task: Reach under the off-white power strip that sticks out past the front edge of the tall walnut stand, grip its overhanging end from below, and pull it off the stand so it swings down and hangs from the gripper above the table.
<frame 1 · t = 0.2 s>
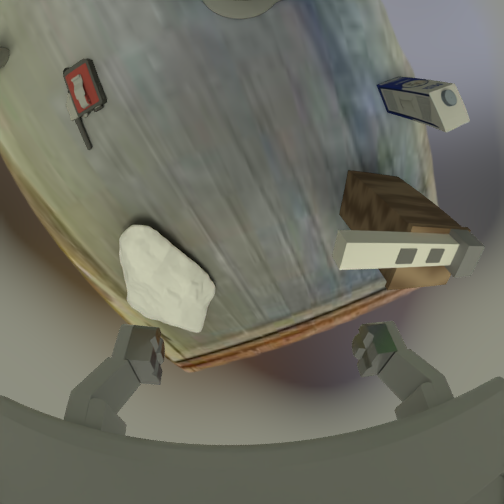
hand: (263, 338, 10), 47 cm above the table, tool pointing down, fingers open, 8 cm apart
walkie-talkie: (88, 101, 42), on the table
stand: (369, 195, 60), on the table
crumpled cloth: (164, 274, 68), on the table
power strip: (411, 244, 36), point 26 cm above the table, touching stand
house plant: (6, 53, 28), on the table
milk carton: (393, 94, 46), on the table
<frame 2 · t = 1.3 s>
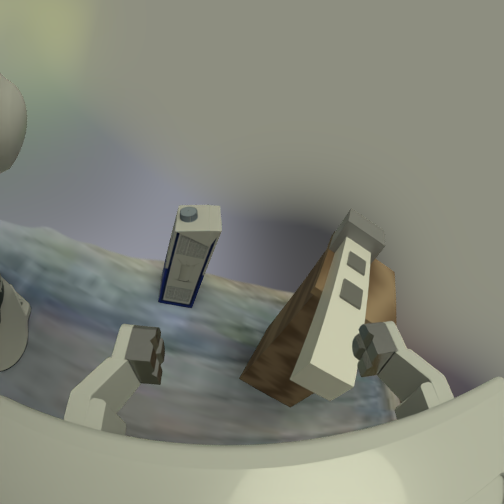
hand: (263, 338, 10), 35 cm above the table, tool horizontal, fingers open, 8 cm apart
stand: (278, 365, 50), on the table
power strip: (338, 295, 29), point 26 cm above the table, touching stand
milk carton: (175, 292, 54), on the table
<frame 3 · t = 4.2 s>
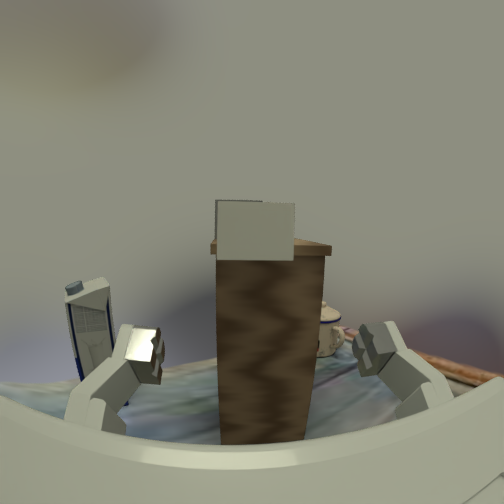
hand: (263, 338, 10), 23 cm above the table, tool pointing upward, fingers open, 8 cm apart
stand: (257, 413, 36), on the table
power strip: (241, 243, 27), point 26 cm above the table, touching stand
milk carton: (105, 398, 36), on the table
teacup with lid: (321, 352, 58), on the table
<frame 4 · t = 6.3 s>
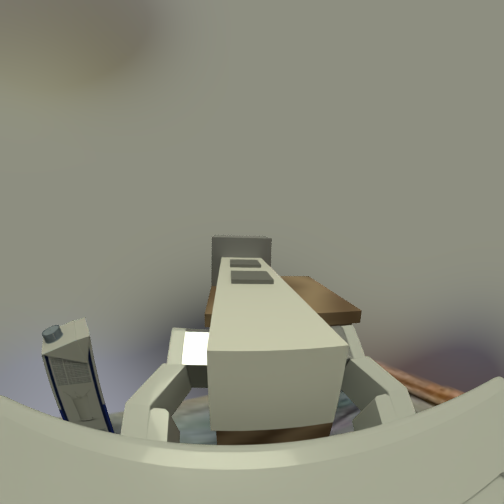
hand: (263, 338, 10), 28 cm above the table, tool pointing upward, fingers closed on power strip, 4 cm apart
stand: (260, 464, 29), on the table
power strip: (246, 310, 20), point 26 cm above the table, touching gripper, stand
milk carton: (96, 442, 29), on the table
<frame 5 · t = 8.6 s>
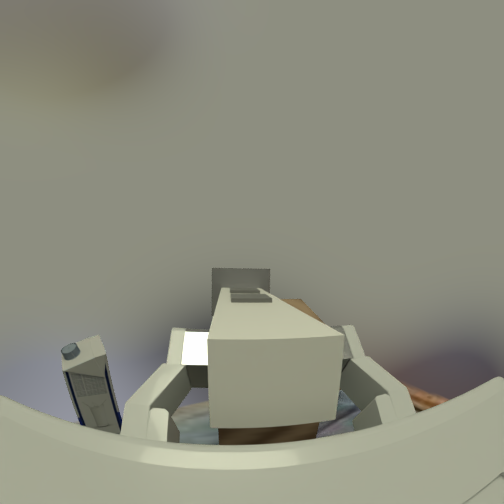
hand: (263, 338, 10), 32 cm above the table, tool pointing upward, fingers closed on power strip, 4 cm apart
stand: (257, 463, 33), on the table
power strip: (245, 334, 20), point 28 cm above the table, tilted 9°, touching gripper
milk carton: (109, 445, 33), on the table
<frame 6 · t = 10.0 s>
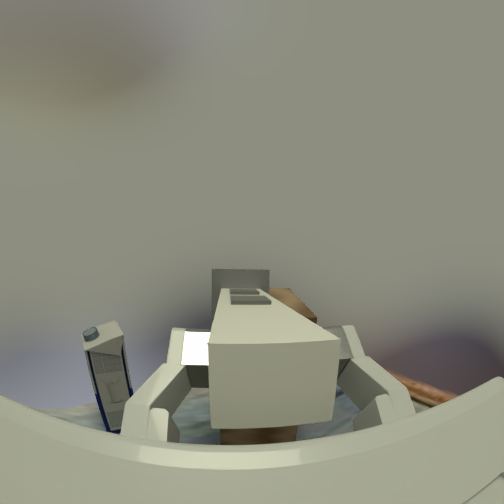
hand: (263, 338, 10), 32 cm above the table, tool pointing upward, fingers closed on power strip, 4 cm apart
stand: (253, 436, 40), on the table
power strip: (245, 335, 20), point 28 cm above the table, tilted 9°, touching gripper
milk carton: (120, 422, 40), on the table
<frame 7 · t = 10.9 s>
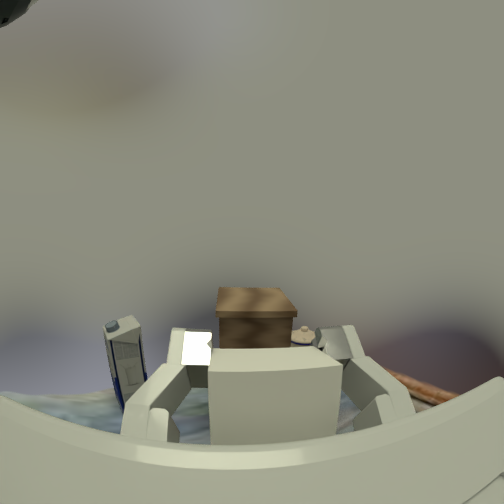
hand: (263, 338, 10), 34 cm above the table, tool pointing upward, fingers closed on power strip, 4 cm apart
stand: (248, 415, 49), on the table
milk carton: (134, 404, 49), on the table
teacup with lid: (303, 366, 71), on the table
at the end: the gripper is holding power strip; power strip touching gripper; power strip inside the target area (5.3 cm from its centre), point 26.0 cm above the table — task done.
